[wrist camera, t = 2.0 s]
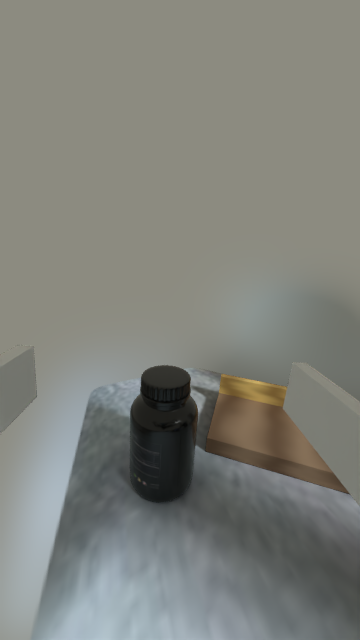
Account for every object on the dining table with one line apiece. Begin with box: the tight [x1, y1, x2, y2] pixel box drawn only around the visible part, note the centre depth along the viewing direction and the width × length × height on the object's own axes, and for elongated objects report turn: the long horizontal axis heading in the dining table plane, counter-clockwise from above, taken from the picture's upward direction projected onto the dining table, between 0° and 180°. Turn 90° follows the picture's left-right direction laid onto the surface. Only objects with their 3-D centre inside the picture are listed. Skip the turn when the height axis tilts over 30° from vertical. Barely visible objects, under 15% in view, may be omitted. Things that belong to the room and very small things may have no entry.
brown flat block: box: [205, 374, 350, 494], centre depth 32 cm, size 18×12×5 cm, turn 73°
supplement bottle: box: [130, 365, 198, 502], centre depth 24 cm, size 7×7×12 cm
